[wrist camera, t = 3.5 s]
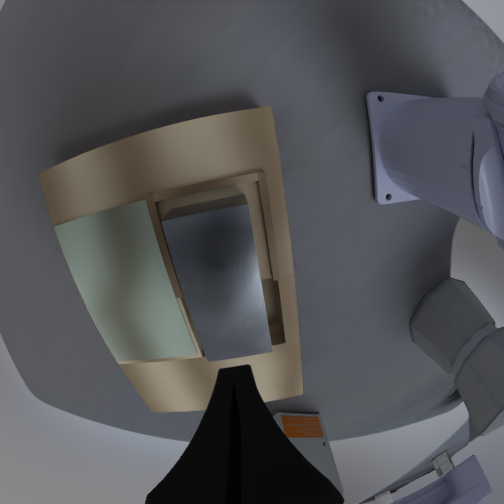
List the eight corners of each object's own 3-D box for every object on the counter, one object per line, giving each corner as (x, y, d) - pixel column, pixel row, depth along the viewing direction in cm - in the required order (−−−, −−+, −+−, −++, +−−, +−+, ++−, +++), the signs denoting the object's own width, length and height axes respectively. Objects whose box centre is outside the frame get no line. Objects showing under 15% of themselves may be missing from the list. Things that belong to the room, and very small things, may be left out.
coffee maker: (432, 355, 27) (500, 458, 10) (385, 356, 25) (459, 491, 9) (490, 249, 21) (597, 336, 5) (452, 228, 20) (598, 341, 3)
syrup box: (442, 454, 62) (454, 478, 49) (430, 461, 63) (442, 486, 49) (446, 450, 60) (459, 475, 47) (434, 457, 60) (447, 483, 47)
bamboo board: (263, 111, 15) (272, 105, 12) (296, 370, 24) (304, 397, 21) (62, 166, 15) (34, 174, 12) (157, 389, 24) (152, 415, 21)
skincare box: (321, 412, 28) (347, 494, 17) (304, 428, 29) (324, 505, 19) (275, 410, 27) (294, 503, 16) (261, 427, 28) (275, 512, 17)
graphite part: (244, 194, 14) (248, 204, 12) (267, 329, 18) (272, 351, 16) (170, 209, 14) (161, 221, 12) (208, 338, 18) (207, 362, 16)
